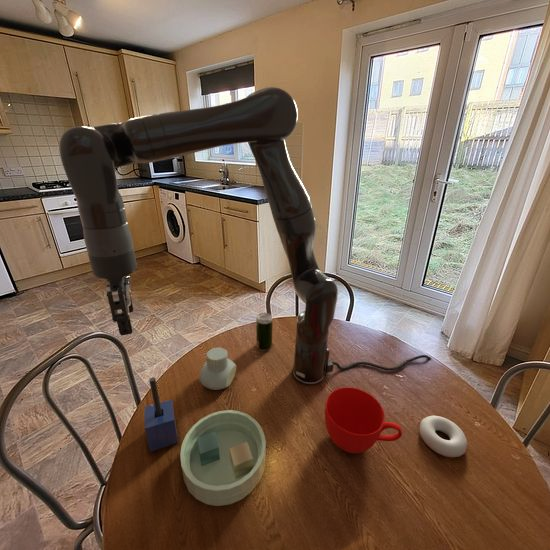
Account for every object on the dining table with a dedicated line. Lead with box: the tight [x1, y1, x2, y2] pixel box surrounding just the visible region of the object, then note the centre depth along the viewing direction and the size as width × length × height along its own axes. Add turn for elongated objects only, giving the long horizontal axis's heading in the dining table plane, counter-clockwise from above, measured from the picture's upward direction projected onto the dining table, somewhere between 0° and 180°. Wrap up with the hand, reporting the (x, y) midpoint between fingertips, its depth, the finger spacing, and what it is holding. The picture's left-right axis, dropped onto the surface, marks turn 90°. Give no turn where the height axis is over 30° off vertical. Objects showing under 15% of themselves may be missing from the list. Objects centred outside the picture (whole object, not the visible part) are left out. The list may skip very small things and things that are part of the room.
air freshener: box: [198, 347, 237, 391], centre depth 83 cm, size 11×8×10 cm
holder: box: [143, 399, 179, 453], centre depth 67 cm, size 6×6×8 cm
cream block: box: [229, 442, 253, 478], centre depth 62 cm, size 4×4×4 cm
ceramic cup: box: [324, 386, 403, 454], centre depth 67 cm, size 13×17×10 cm
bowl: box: [179, 409, 267, 507], centre depth 63 cm, size 18×18×6 cm
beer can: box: [255, 312, 274, 352], centre depth 98 cm, size 5×5×12 cm
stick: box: [148, 376, 162, 417], centre depth 65 cm, size 1×1×18 cm
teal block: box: [197, 432, 220, 466], centre depth 64 cm, size 4×4×4 cm
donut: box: [419, 415, 468, 458], centre depth 69 cm, size 10×3×10 cm
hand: (127, 322), depth 60 cm, fingers open, 8 cm apart
